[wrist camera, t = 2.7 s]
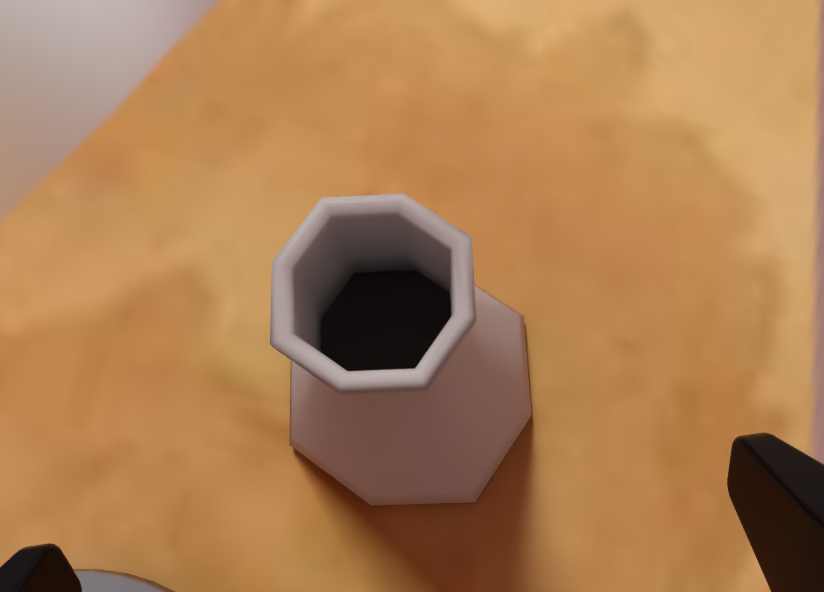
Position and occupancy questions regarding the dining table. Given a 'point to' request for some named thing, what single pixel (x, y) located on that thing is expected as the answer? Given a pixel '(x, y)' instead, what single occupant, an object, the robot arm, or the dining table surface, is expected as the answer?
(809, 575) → the robot arm
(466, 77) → the dining table surface
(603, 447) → the dining table surface
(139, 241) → the dining table surface
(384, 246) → the flask
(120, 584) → the slate coaster
